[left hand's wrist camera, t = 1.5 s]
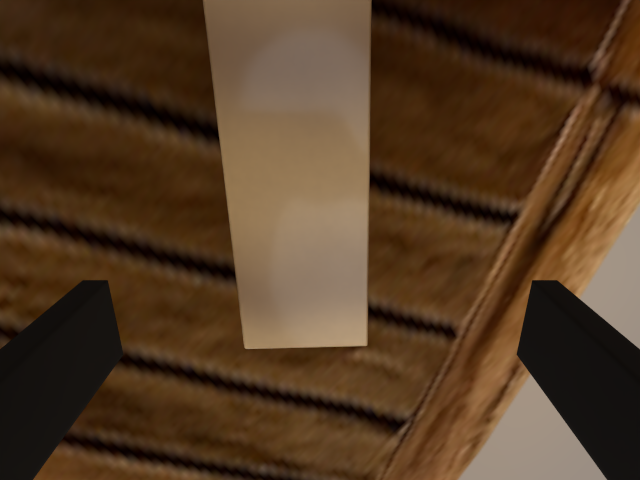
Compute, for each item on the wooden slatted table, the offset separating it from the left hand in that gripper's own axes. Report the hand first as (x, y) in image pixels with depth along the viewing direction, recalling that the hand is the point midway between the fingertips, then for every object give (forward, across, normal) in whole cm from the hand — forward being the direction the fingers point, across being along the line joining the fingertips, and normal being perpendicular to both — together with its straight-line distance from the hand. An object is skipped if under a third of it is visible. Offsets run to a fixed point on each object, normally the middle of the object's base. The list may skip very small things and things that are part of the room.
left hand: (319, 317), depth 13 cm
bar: (+13, +1, -8) cm, 15 cm away
